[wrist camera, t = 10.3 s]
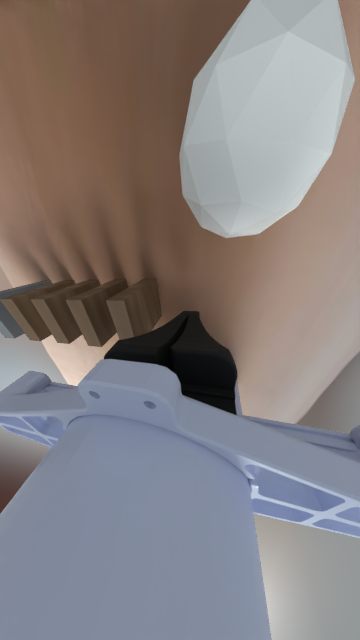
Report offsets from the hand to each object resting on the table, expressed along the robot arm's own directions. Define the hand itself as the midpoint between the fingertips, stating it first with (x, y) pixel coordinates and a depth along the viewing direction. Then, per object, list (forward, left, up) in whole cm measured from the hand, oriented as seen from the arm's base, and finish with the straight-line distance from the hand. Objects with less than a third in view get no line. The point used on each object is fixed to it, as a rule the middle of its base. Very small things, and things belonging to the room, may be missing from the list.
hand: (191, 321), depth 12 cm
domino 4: (+10, 0, -5) cm, 11 cm away
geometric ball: (-3, -10, -6) cm, 12 cm away
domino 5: (+6, 0, -6) cm, 8 cm away
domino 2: (+18, 0, -6) cm, 19 cm away
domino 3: (+14, 0, -5) cm, 15 cm away
